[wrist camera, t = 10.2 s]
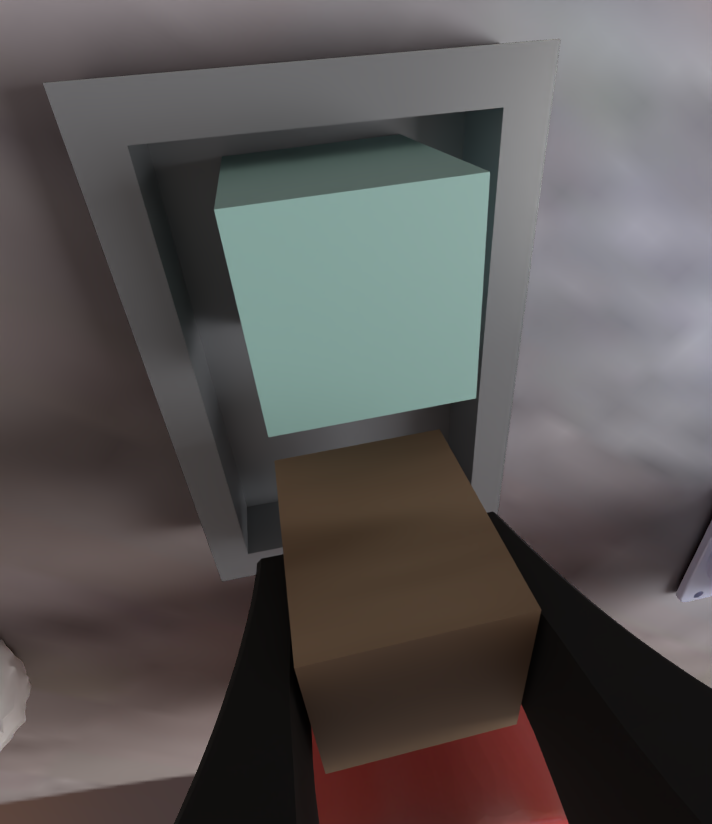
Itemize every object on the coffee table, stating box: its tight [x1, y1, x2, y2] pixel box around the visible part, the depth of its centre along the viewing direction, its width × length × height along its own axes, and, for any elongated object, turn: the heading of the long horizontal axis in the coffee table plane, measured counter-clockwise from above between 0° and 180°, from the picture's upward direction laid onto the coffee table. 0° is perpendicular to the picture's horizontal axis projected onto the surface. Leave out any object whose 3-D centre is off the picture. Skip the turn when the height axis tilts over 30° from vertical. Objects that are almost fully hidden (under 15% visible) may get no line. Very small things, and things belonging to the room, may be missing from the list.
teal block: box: [214, 134, 490, 437], centre depth 10 cm, size 4×4×5 cm
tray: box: [43, 39, 561, 582], centre depth 13 cm, size 9×13×2 cm
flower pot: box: [311, 705, 569, 824], centre depth 19 cm, size 11×11×10 cm
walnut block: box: [274, 429, 541, 774], centre depth 11 cm, size 4×4×5 cm
